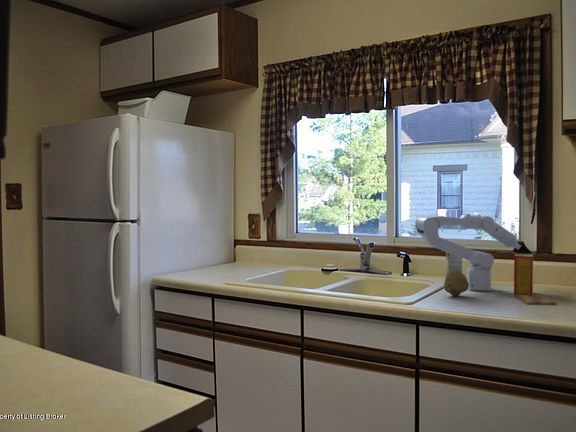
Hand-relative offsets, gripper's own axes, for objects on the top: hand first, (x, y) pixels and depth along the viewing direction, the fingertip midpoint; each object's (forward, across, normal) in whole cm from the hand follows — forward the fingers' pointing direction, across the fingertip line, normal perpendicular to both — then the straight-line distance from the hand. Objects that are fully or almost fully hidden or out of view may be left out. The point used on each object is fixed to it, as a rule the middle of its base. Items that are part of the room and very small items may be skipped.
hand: (526, 251), depth 214 cm
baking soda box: (+1, -17, +14) cm, 22 cm away
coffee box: (-11, +12, +30) cm, 34 cm away
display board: (-2, -30, +12) cm, 32 cm away
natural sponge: (-22, -21, +29) cm, 42 cm away
